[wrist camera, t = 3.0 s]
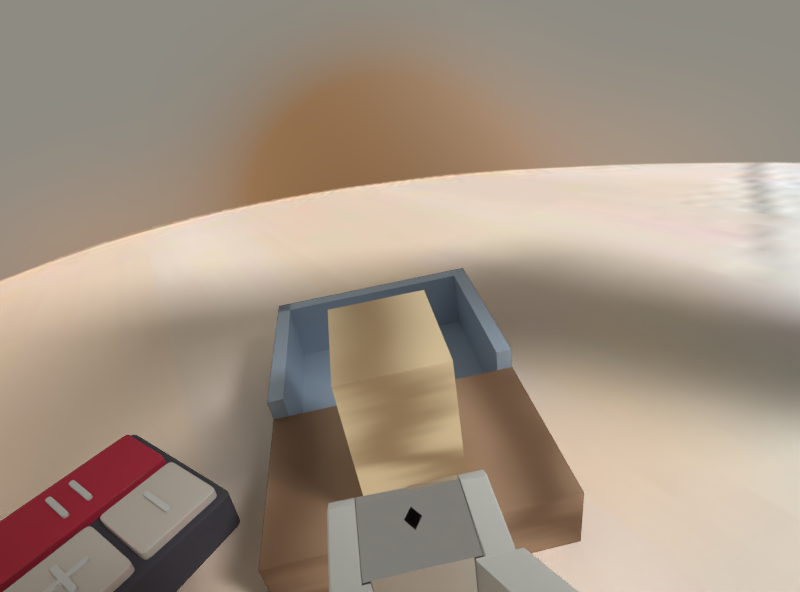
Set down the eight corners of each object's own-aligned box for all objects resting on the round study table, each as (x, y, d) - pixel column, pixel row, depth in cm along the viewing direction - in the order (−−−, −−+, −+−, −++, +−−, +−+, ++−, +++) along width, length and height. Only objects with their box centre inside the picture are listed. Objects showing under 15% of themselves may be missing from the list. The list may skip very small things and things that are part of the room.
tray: (467, 320, 45) (462, 268, 42) (513, 410, 34) (511, 349, 31) (295, 357, 44) (278, 306, 41) (290, 461, 33) (267, 402, 31)
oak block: (442, 416, 29) (424, 289, 25) (469, 500, 24) (453, 360, 20) (361, 434, 29) (327, 309, 24) (371, 524, 24) (331, 387, 19)
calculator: (227, 483, 28) (-100, 778, 18) (247, 530, 30) (-36, 820, 20) (129, 423, 34) (-160, 619, 24) (151, 467, 36) (-106, 664, 26)
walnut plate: (513, 410, 34) (512, 366, 32) (580, 540, 26) (583, 492, 24) (290, 461, 33) (273, 419, 31) (281, 614, 25) (258, 570, 23)
